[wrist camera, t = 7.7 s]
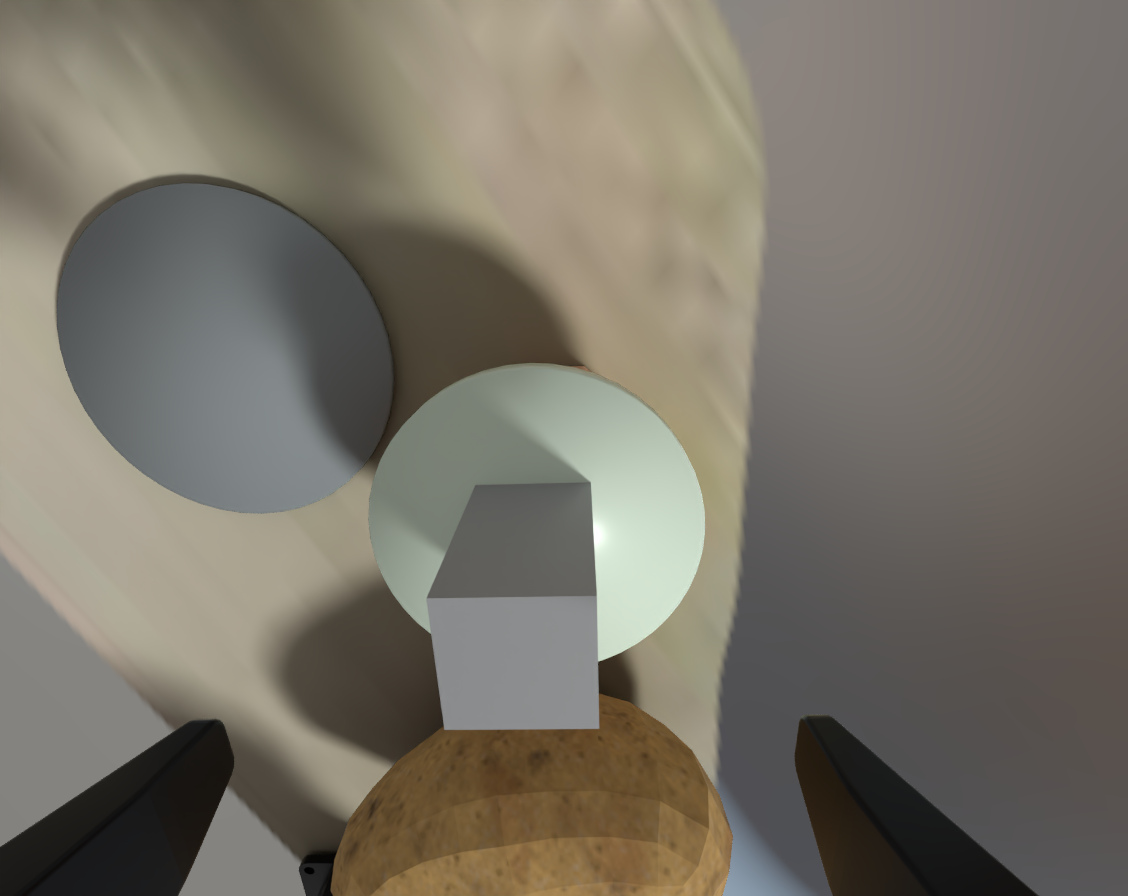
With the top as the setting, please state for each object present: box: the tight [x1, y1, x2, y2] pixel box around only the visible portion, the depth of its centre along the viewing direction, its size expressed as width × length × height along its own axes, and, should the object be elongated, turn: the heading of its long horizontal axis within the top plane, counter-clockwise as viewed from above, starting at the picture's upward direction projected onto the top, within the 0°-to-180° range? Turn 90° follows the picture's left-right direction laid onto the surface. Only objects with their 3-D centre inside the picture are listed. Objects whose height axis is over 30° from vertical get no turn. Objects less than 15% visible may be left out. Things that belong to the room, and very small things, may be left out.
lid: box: [368, 363, 705, 730], centre depth 13 cm, size 9×9×6 cm
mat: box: [57, 183, 394, 514], centre depth 19 cm, size 11×11×1 cm
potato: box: [330, 694, 733, 896], centre depth 21 cm, size 10×14×8 cm
